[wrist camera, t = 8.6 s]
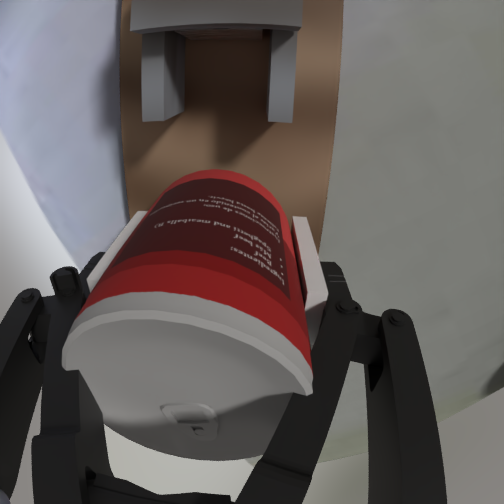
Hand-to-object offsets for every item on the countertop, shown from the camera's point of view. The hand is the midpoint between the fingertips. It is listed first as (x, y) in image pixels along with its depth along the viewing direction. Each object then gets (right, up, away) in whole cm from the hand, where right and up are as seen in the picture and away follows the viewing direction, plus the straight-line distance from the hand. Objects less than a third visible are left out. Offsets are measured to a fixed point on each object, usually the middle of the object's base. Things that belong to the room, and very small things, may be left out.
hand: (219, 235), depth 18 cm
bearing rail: (0, +8, -1) cm, 8 cm away
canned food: (0, 0, 0) cm, 0 cm away
